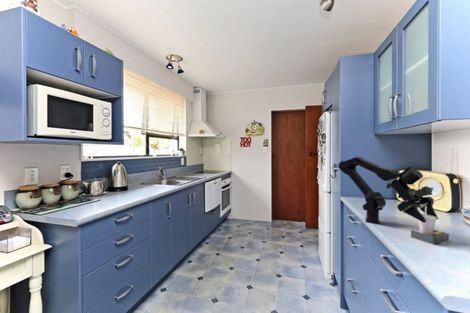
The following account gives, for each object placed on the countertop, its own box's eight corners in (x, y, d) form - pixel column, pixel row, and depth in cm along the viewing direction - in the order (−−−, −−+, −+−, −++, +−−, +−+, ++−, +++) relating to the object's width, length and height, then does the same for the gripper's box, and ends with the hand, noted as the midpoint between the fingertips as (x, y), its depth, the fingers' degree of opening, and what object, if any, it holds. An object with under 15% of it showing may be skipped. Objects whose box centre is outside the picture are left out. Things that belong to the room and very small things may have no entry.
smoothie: (413, 234, 100) (414, 204, 100) (429, 235, 99) (430, 204, 99) (422, 240, 94) (423, 207, 94) (440, 241, 93) (441, 208, 93)
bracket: (410, 236, 98) (411, 228, 98) (424, 233, 102) (424, 224, 102) (435, 244, 90) (435, 235, 90) (448, 240, 94) (448, 231, 94)
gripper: (405, 181, 96) (436, 213, 86) (429, 179, 103) (460, 208, 93) (386, 196, 103) (412, 227, 93) (410, 193, 111) (436, 221, 101)
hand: (431, 220), depth 95 cm, fingers open, 9 cm apart
